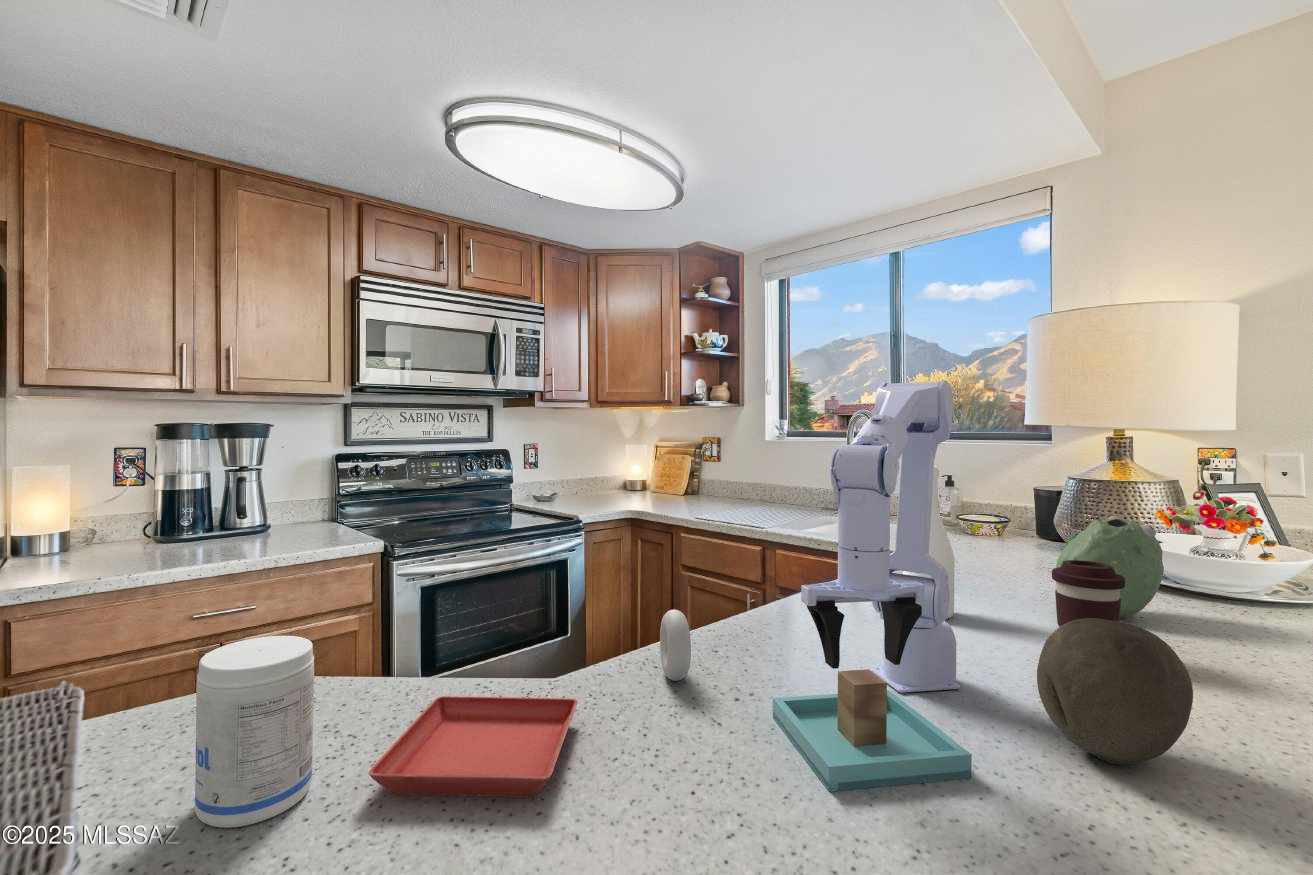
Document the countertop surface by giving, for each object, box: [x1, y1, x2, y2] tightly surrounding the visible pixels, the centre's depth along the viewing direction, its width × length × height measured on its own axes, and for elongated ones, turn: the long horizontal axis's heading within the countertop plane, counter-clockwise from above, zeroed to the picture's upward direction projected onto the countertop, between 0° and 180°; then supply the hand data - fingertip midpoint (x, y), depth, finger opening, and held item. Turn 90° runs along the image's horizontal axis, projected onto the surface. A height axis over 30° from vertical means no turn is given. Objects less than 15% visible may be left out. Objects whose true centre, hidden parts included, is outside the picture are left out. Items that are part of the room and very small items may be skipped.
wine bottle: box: [902, 465, 956, 620], centre depth 121 cm, size 10×10×30 cm
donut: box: [659, 608, 692, 682], centre depth 89 cm, size 10×4×10 cm, turn 9°
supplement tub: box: [194, 635, 315, 829], centre depth 58 cm, size 10×10×15 cm
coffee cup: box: [1051, 560, 1125, 628], centre depth 100 cm, size 10×10×15 cm
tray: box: [772, 689, 973, 792], centre depth 70 cm, size 16×16×2 cm
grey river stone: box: [1036, 618, 1194, 766], centre depth 68 cm, size 14×14×15 cm
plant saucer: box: [368, 695, 579, 798], centre depth 67 cm, size 18×18×3 cm
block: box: [837, 668, 888, 747], centre depth 70 cm, size 4×4×7 cm
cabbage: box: [1055, 515, 1165, 618], centre depth 121 cm, size 16×19×20 cm
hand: (862, 663), depth 70 cm, fingers open, 7 cm apart
